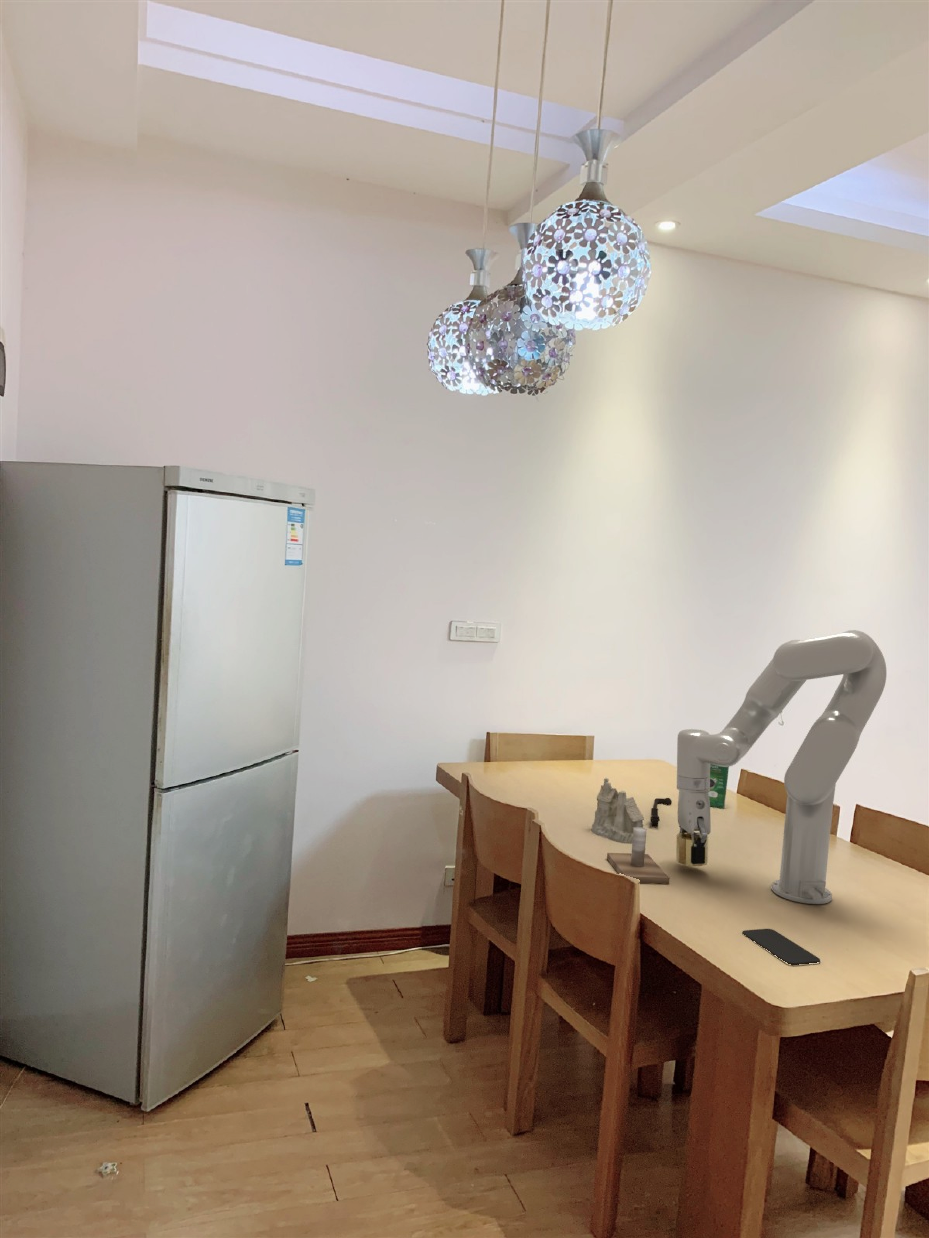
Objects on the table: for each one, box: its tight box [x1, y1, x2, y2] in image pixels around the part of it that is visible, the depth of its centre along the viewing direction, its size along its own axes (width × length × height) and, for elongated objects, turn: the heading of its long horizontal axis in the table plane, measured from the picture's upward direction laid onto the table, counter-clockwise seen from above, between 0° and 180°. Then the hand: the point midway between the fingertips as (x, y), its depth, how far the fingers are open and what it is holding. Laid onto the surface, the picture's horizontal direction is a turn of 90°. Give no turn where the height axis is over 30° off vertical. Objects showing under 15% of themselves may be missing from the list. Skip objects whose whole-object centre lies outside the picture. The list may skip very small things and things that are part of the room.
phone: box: [741, 928, 821, 965], centre depth 170 cm, size 7×1×15 cm
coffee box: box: [708, 764, 730, 809], centre depth 271 cm, size 8×3×13 cm, turn 67°
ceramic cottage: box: [591, 777, 645, 845], centre depth 238 cm, size 16×16×15 cm
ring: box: [675, 832, 709, 867], centre depth 210 cm, size 7×7×6 cm
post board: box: [606, 826, 670, 885], centre depth 208 cm, size 16×10×10 cm, turn 6°
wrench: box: [650, 797, 672, 828], centre depth 257 cm, size 5×5×30 cm
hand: (691, 857), depth 210 cm, fingers closed on ring, 7 cm apart
